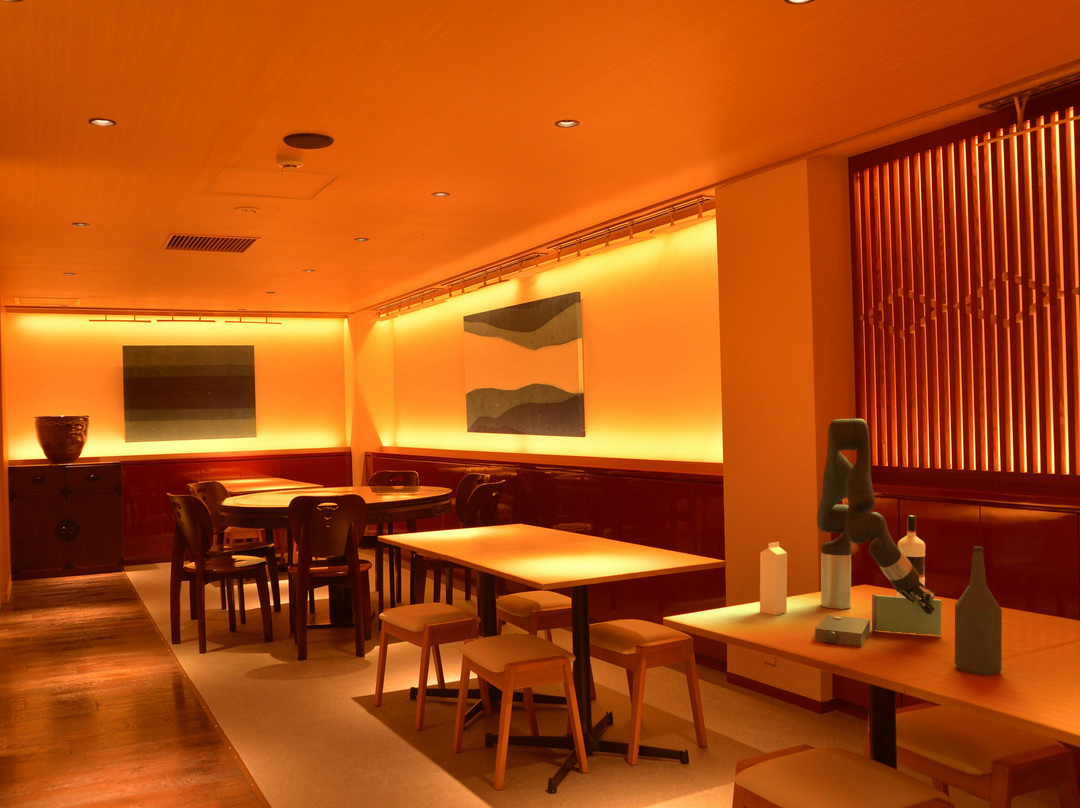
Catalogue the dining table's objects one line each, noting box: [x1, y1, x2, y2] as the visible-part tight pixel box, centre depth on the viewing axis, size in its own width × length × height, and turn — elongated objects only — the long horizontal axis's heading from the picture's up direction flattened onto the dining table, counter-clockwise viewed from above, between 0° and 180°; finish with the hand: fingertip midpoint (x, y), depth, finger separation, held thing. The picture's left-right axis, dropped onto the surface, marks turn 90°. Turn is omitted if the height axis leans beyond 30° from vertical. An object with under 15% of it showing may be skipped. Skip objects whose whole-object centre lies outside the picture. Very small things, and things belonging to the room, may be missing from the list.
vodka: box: [896, 515, 926, 597], centre depth 292 cm, size 9×9×30 cm
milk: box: [759, 541, 788, 616], centre depth 281 cm, size 6×6×22 cm
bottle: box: [954, 546, 1003, 676], centre depth 218 cm, size 10×10×30 cm
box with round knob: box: [814, 614, 871, 647], centre depth 250 cm, size 22×12×4 cm, turn 154°
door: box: [871, 593, 942, 636], centre depth 255 cm, size 18×1×10 cm, turn 71°
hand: (930, 611), depth 251 cm, fingers closed
